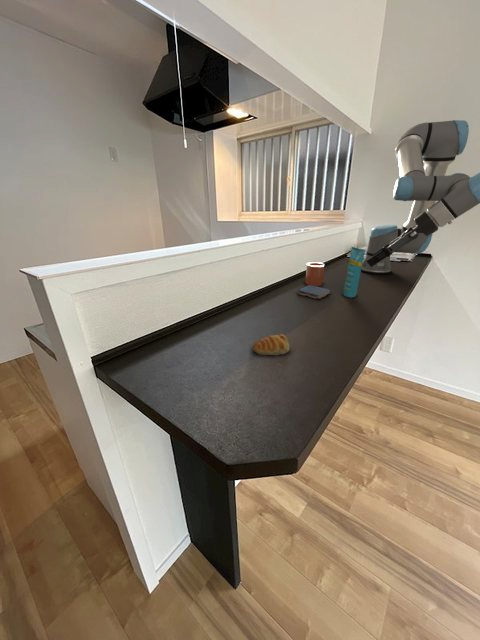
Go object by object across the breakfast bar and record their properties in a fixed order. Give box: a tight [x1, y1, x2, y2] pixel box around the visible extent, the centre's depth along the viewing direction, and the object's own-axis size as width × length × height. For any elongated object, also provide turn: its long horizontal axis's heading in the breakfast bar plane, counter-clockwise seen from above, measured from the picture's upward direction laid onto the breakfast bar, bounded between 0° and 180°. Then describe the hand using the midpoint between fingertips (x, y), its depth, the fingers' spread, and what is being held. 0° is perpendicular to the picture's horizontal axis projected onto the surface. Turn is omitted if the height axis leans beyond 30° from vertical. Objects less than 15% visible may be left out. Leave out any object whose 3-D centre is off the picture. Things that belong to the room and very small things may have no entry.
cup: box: [304, 262, 326, 287], centre depth 121 cm, size 8×8×9 cm
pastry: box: [252, 333, 290, 356], centre depth 70 cm, size 9×7×4 cm
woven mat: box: [297, 285, 331, 300], centre depth 110 cm, size 10×11×2 cm
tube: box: [342, 246, 366, 298], centre depth 104 cm, size 7×5×19 cm, turn 23°
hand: (372, 260), depth 99 cm, fingers open, 13 cm apart
